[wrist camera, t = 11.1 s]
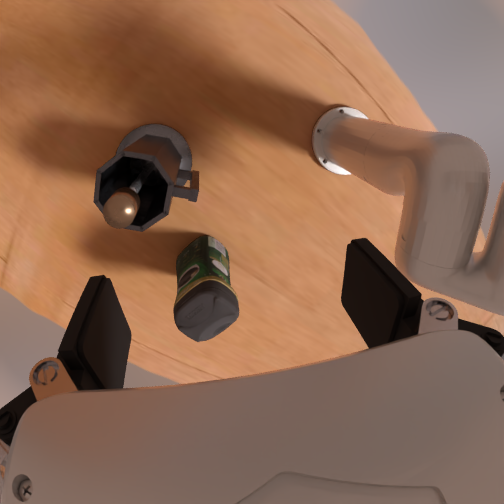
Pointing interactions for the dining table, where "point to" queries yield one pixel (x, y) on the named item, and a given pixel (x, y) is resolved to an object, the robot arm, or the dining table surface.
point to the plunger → (131, 194)
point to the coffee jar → (204, 290)
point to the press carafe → (167, 162)
